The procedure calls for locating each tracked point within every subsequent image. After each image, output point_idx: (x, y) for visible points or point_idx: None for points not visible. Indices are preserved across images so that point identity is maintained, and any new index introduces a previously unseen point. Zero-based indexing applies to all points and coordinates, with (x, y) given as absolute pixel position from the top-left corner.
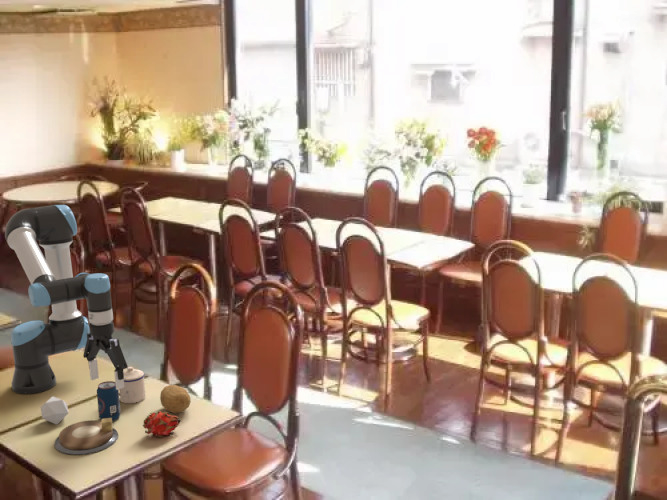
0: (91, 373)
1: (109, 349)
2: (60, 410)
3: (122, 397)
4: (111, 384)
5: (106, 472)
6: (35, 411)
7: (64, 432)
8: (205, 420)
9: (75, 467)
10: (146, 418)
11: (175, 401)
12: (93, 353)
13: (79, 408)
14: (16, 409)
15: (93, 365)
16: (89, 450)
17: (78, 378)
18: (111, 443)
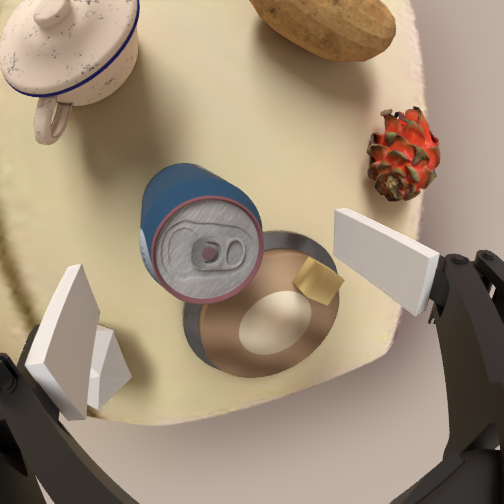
0: (93, 341)
1: (496, 442)
2: (120, 365)
3: (87, 101)
4: (209, 222)
5: (391, 310)
6: (10, 351)
7: (236, 366)
8: (393, 39)
9: (341, 349)
10: (397, 186)
11: (383, 50)
12: (129, 496)
13: (37, 254)
14: None
15: (74, 364)
16: None
17: None
18: (337, 273)
